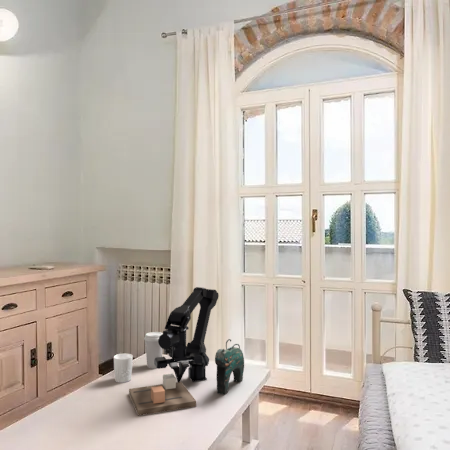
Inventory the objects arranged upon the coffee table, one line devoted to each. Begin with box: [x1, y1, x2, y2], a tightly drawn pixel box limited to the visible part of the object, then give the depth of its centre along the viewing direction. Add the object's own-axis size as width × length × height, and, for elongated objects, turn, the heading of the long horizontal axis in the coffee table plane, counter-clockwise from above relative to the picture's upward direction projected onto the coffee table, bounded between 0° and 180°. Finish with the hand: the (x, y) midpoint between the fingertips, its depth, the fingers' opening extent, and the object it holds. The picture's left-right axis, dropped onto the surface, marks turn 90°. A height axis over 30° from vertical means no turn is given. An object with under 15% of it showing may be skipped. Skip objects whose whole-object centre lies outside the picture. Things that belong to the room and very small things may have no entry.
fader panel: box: [128, 381, 197, 417], centre depth 157 cm, size 21×20×2 cm
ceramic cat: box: [214, 338, 245, 396], centre depth 170 cm, size 20×6×20 cm, turn 152°
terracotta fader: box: [151, 386, 165, 404], centre depth 152 cm, size 4×5×4 cm
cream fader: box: [162, 373, 177, 389], centre depth 164 cm, size 4×5×4 cm
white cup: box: [113, 353, 134, 384], centre depth 177 cm, size 8×8×10 cm
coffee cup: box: [143, 331, 164, 370], centre depth 194 cm, size 10×10×15 cm
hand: (178, 381), depth 166 cm, fingers closed
